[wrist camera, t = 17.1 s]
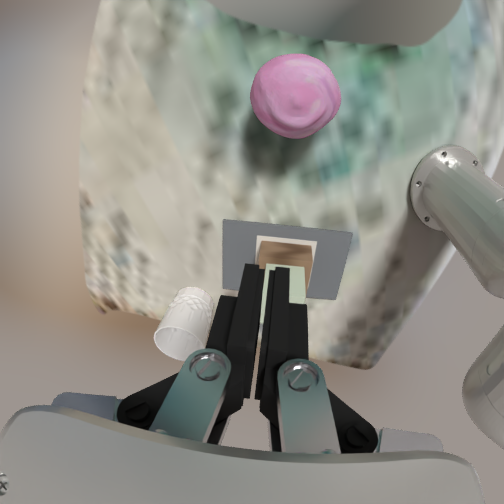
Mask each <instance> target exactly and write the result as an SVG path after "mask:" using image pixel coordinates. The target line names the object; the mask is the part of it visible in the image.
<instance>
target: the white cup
mask: <svg viewBox="0 0 504 504" xmlns="http://www.w3.org/2000/svg"><path fill="white" fill-rule="evenodd" d="M213 306H214V303H213V300H212V298H211V296H210V295H209V294H208V293H207V292H206V291H204V290H202V289H200V288H197V287H185V288H182V289H180V290H179V291H178V292H177V294H176V295H175V297H174V299H173V301H172V302H171V304H170V305H169V307H168V309H167V311H166V312H165V314H164V316H163V318H162V320H161V322H160V324H159V326H158V328H157V330H156V332H155V334H154V342H155V344H156V346H157V347H158V348H159V349H160V350H161V351H162V352H163V353H164V354H166V355H167V356H169V357H171V358H174V359H177V360H180V361H185V360H186V359H187V358H188V356H189V355H190V354H192V353H193V352H195V351H197V350H200V349H205V347H206V343H207V338H208V333H209V329H210V325H211V319H212V311H213Z"/></svg>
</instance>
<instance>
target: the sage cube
mask: <svg viewBox="0 0 504 504" xmlns="http://www.w3.org/2000/svg"><path fill="white" fill-rule="evenodd" d="M275 267H286V268H290V290H289V303H298V304H304V303H305V298H306V293H305V270H304V267H299V266H288V265H278V264H268V263H266V270H265V278H264V286H263V294H262V305H261V317H260V323H263V322H264V314H265V305H266V296H267V287H268V278H269V270H275Z"/></svg>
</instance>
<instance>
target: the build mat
mask: <svg viewBox="0 0 504 504" xmlns="http://www.w3.org/2000/svg"><path fill="white" fill-rule="evenodd" d="M352 235H353V234H352V233H350V232H342V231H333V230H324V229H315V228H306V227H297V226H287V225H278V224H268V223H258V222H247V221H237V220H226V219H223V289H232V290H239V288H240V284H241V279H242V275H243V270H244V266H245V263H247V264H257V265H258V264H259V254H260V247H261V241H272V242H282V243H291V244H301V245H311V247H312V257H313V264H312V269H311V274H310V279H309V284H308V289H307V294H306V297H309V298H320V299H331V300H336V297H337V293H338V289H339V286H340V282H341V278H342V275H343V271H344V267H345V263H346V259H347V255H348V251H349V247H350V243H351V239H352Z"/></svg>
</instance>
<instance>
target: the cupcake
mask: <svg viewBox="0 0 504 504" xmlns="http://www.w3.org/2000/svg"><path fill="white" fill-rule="evenodd" d="M250 100H251V104H252V108H253V110H254V113H255V115H256V116H257V118H258V119H259V120H260V121H261V123H262V124H264V125H265V126H266V127H267V128H268V129H270V130H272V131H273V132H275V133H277V134H279V135H281V136H284V137H287V138H294V139H299V138H305V137H308V136H310V135H312V134H314V133H315V132H317V131H319V130H320V129H321V128H323V127H324V126H325V125H326V124H327V123H329V121H330V120H332V119H333V118H334V116H335V115H336V113H337V111H338V110H339V107H340V104H341V92H340V88H339V85H338V82H337V80H336V79H335V77H334V75H333V74H332V72H331V70H330V69H329V68H328V67H327V66H326V65H325V64H324V63H323V62H321V61H320V60H318V59H316V58H314V57H311V56H308V55H305V54H287V55H282V56H278V57H275V58H274V59H272V60H270V61H268V62H267V63H266V64H264V65H263V66H262V67H261V68H260V69H259V71H258V72H257V74H256V76H255V78H254V81H253V84H252V87H251V92H250Z"/></svg>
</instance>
